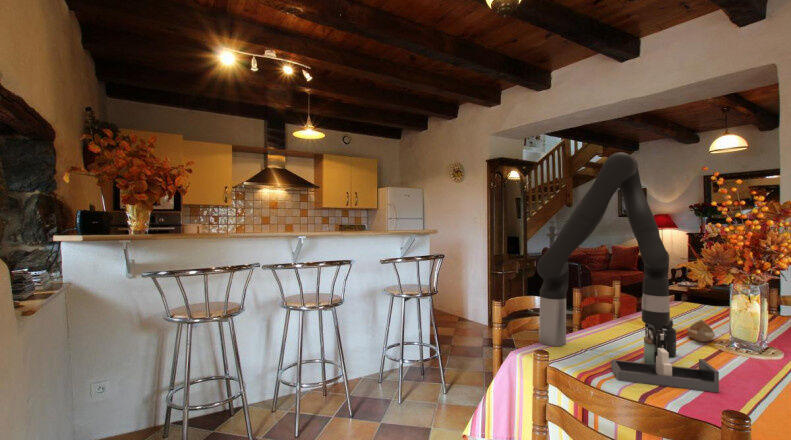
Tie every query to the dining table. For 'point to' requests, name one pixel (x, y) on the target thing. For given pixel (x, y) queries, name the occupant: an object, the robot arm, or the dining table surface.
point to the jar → (649, 350)
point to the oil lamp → (701, 331)
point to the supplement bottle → (670, 339)
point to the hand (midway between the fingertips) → (655, 360)
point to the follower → (663, 363)
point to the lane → (681, 376)
